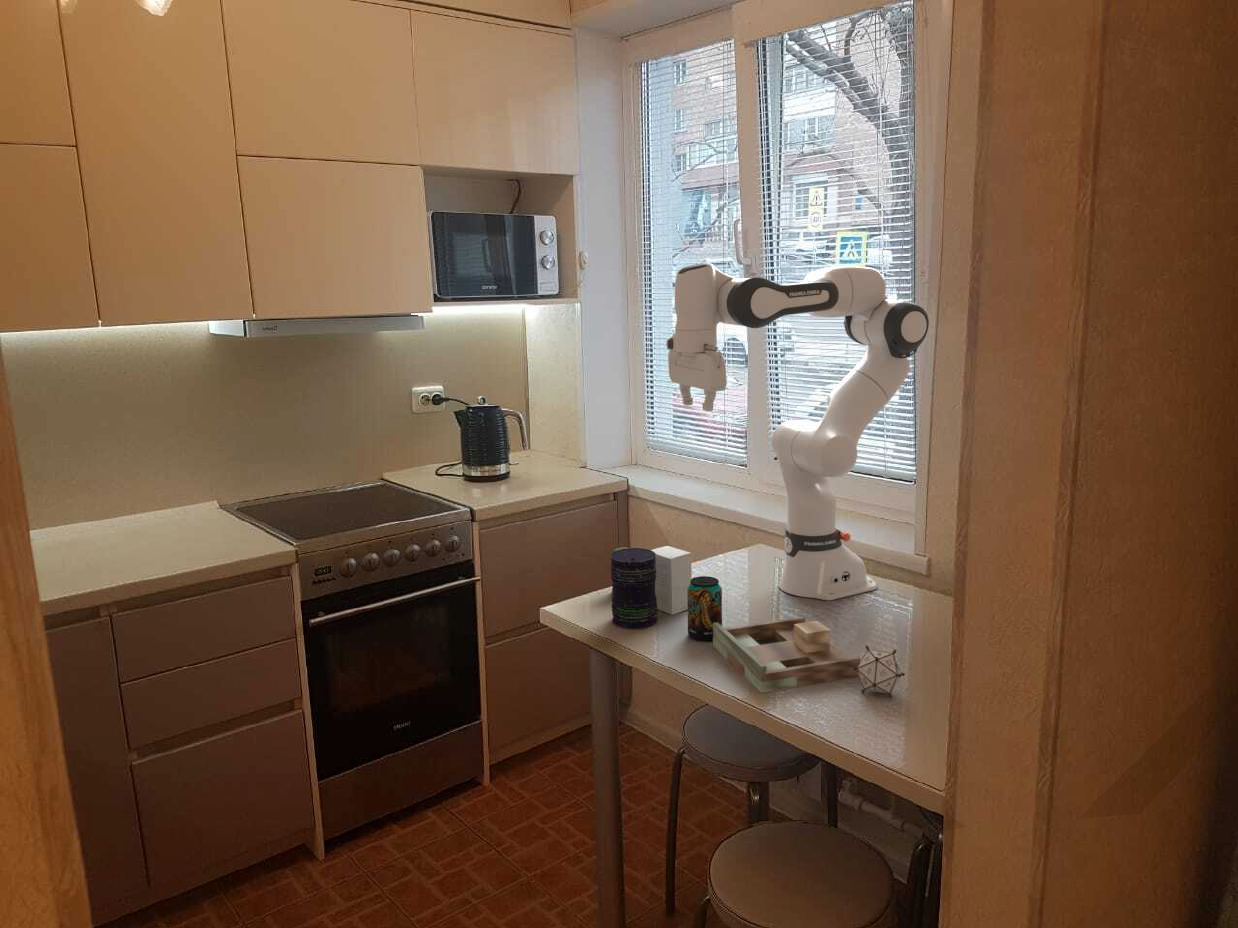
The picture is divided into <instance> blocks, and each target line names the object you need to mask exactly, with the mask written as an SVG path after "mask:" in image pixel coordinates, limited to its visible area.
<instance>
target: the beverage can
mask: <svg viewBox="0 0 1238 928" xmlns="http://www.w3.org/2000/svg"><path fill="white" fill-rule="evenodd" d="M690 582H691V584H690V585H689V587H688V589H687V601H688V609H687V633H688V635H689V636H690V638H691V639H692V640H695V641H698V642H713V623H715V622H718V623H719V624H720V625H721V626H722V627H723V589H722V586H721V585H720V583H719V579H718V578H716V577H714V576H707V575H706V576H705V575H704V576H696V577H693V578H692V579H691V581H690Z"/></svg>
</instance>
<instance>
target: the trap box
mask: <svg viewBox="0 0 1238 928" xmlns="http://www.w3.org/2000/svg"><path fill="white" fill-rule="evenodd" d="M805 622H806V618H805V617H804V616H798V617H797V616H796V617H791V618H790V617H789V618H785V619H777V620H770V621H764V622H757V623H752V624H751V623H750V624H744V625H738V626H729V627H724V626H723V625H722V626H721V625H720V624H719V623H718V622H715V623H713V641H712V647H713V648H715V650H716V651H717V652H718V653H719V654H720V655H722V657H723V658H725V659H726V660H727V661H728V662H729V663H730V664H731V665H732V666H733V667H734V668H735V669H736V670H737V671H738V672H739V673H740V674H741V675H742V676H743V677H744V678H745V679H746V680H747V681H748V682H749V683H750V684H752V686H753V687H755V688H756V690H758V692H760V694H763V693H768V692H775V691H781V690H785V689H791V688H798V687H803V686H809V685H814V684H815V685H816V684H821V683H826V682H833V681H838V680H839V681H840V680H845V679H849V678H850V679H851V678H857V677H859V675H858V672H857V670H853V669H852V668H853V667H856V668H857V667H858V665H859V663H860V662H861V660H862V658H861V657H859V656H851V657H849V656H848V655H846V654H845V653H844V652H842V651H841V650H839V648H837V647H835V645H833V644H831V643H830V649H829V650H823V651H817V652H810V653H805V652H804V651H803V650H802V649H800V648H799V647H798V646H797V645H795V644H794V624H798V623H805Z"/></svg>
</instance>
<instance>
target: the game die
mask: <svg viewBox="0 0 1238 928" xmlns="http://www.w3.org/2000/svg"><path fill="white" fill-rule="evenodd" d="M865 650H866V651H865V653H864V655H863V657H862V658H861V659H860V663H859V665H858V667H857V668H856V667H853V668H852V669H853V670H857V672H858V675H859V676H858V679H859V680H860V683H861V685H862V688H863V689H861V691H860V693H861V694H863V693H865V692H866V691H869V692H873V693H874V692H875V693H882V694H887V695H888V697H889V698H890V699H893V695H892V692H893V689H894V688H895V687H896V685H897V682H898V680H899V679H900V678H901V677H904V676H906V673H904V672H902V671H901V670H900V668H899V667H900V666H899V665H898V662H897V659H896V655H895V654H896V653H897V649H893V650H892V652H888V651H881V650H873V649H870V648H869V646H868V645H867V644H866V645H865Z"/></svg>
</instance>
